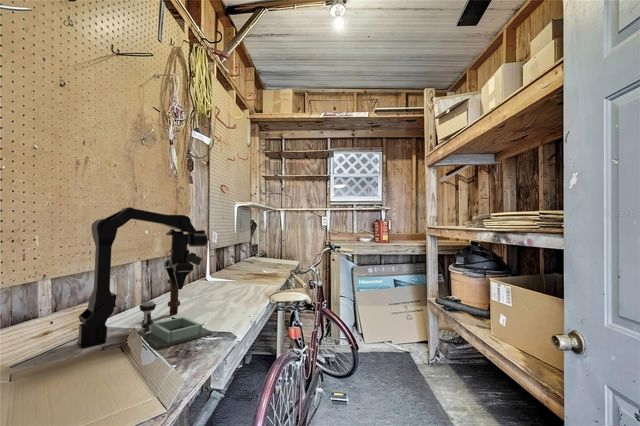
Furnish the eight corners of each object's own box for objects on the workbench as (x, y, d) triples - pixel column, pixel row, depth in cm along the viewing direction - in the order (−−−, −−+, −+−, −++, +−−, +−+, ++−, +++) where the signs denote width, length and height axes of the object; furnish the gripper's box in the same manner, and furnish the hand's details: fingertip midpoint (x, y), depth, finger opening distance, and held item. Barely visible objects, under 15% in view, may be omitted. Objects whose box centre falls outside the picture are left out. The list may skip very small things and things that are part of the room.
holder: (168, 342, 95) (168, 332, 95) (150, 332, 104) (151, 323, 104) (202, 333, 104) (202, 324, 104) (183, 325, 112) (184, 316, 113)
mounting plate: (157, 349, 92) (157, 345, 92) (139, 337, 101) (140, 334, 101) (211, 334, 106) (211, 331, 106) (191, 325, 115) (191, 322, 115)
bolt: (182, 314, 129) (183, 279, 130) (170, 316, 126) (171, 280, 127) (176, 311, 133) (178, 277, 134) (164, 313, 130) (166, 278, 131)
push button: (149, 334, 105) (150, 305, 106) (133, 334, 105) (134, 305, 105) (157, 327, 112) (158, 300, 112) (142, 328, 111) (143, 300, 112)
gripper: (208, 248, 116) (206, 289, 115) (193, 245, 130) (191, 282, 129) (177, 248, 109) (174, 292, 108) (165, 245, 123) (162, 284, 122)
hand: (177, 287), depth 117 cm, fingers open, 9 cm apart
